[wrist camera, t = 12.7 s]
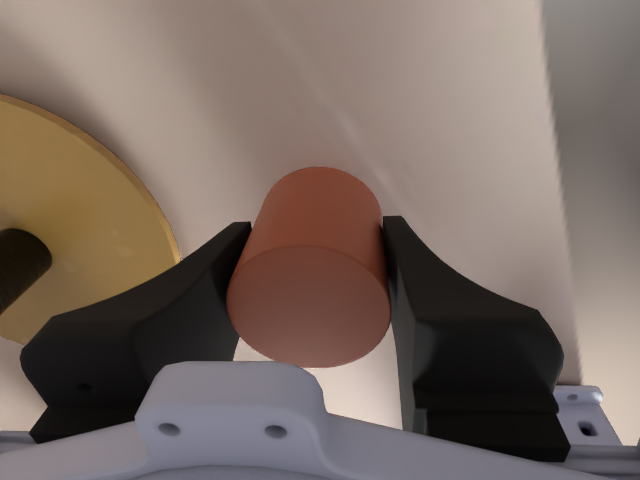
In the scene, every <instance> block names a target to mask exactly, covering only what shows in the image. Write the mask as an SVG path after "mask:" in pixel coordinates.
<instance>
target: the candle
mask: <svg viewBox="0 0 640 480" xmlns="http://www.w3.org/2000/svg"><path fill="white" fill-rule="evenodd" d="M226 307H227V312H228V316H229V318H230V321H231V323H232V325H233V327H234V329H235V330H236V332H237V333H238V334H239V336H240V337H241V338H242V339H243V340H244V341H245V342H246V343H247V344H248V345H249V346H251V347H252V348H253V349H254V350H256V351H257V352H259V353H260V354H262V355H264V356H266V357H268V358H270V359H272V360H275V361H277V362H283V363H288V364H294V365H297V366H299V367H301V368H314V369H317V368H330V367H336V366H341V365H345V364H348V363H350V362H353V361H355V360H357V359H360V358H361V357H363V356H365V355H366V354H368V353H369V352H370V351H372V350H373V349H374V348H375V347H376V346H377V345H378V344H379V343H380V342H381V340H382V339H383V337H384V336H385V334H386V332H387V330H388V328H389V325H390V321H391V314H392V308H391V298H390V288H389V279H388V270H387V260H386V253H385V247H384V237H383V223H382V214H381V210H380V206H379V204H378V201H377V199H376V198H375V196H374V194H373V193H372V192H371V190H370V189H369V188H368V187H367V186H366V185H365V184H364V183H363V182H361V181H360V180H359V179H357V178H356V177H354V176H352V175H351V174H349V173H346V172H344V171H341V170H338V169H334V168H327V167H311V168H305V169H301V170H297V171H295V172H292V173H290V174H288V175H287V176H285V177H283V178H282V179H281V180H279V181H278V182H277V183H276V184H275V185H274V186H273V187H272V188H271V190H270V191H269V192H268V194H267V196H266V198H265V200H264V203H263V205H262V207H261V210H260V212H259V214H258V217H257V219H256V221H255V224H254V226H253V228H252V231H251V233H250V235H249V238H248V240H247V242H246V245H245V247H244V249H243V252H242V254H241V256H240V259H239V261H238V263H237V266H236V268H235V270H234V273H233V275H232V277H231V280H230V282H229V285H228V288H227V294H226Z"/></svg>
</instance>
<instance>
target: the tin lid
mask: <svg viewBox="0 0 640 480" xmlns="http://www.w3.org/2000/svg"><path fill="white" fill-rule="evenodd" d="M179 262H180V255H179V251H178V248H177V244H176V240H175V238H174V235H173V233H172V230H171V228H170V226H169V223H168V221H167V219H166V218H165V216H164V214H163V212H162V211H161V209H160V207H159V205H158V204H157V202H156V201H155V200H154V198H153V197H152V195H151V194H150V193H149V191H148V190H147V189H146V187H145V186H144V185H143V184H142V182H141V181H140V180H139V179H138V178H137V177H136V176H135V175H134V174H133V172H132V171H131V170H130V169H129V168H128V167H127V166H126V165H125V164H124V163H123V162H122V161H120V160H119V159H118V158H117V157H116V156H115V155H114V154H113V153H112V152H111V151H110V150H108V149H107V148H106V147H104V146H103V145H102V144H100V143H99V142H98V141H97V140H95V139H94V138H93V137H91V136H90V135H89V134H87V133H86V132H84V131H82V130H81V129H79V128H78V127H76V126H74V125H73V124H71V123H69V122H68V121H66V120H65V119H63V118H61V117H59V116H57V115H55V114H53V113H51V112H49V111H47V110H45V109H42V108H40V107H38V106H35V105H33V104H30V103H27V102H25V101H22V100H19V99H17V98H14V97H10V96H6V95H2V94H0V336H1V337H3V338H6V339H9V340H11V341H14V342H17V343H19V344H22V345H27V344H28V342H29V341H30V340H31V339H32V338H33V337H34V336H35V335H36V334H37V332H38V331H39V330H40V329H41V328H42V327H43V326H44V325H45V324H46V322H47V321H48V320H49V319H50V318H51V317H52V316H55V315H58V314H62V313H65V312H68V311H72V310H75V309H78V308H82V307H85V306H88V305H91V304H94V303H97V302H99V301H102V300H105V299H108V298H110V297H113V296H115V295H118V294H120V293H123V292H125V291H127V290H129V289H131V288H133V287H135V286H138V285H140V284H142V283H144V282H146V281H148V280H150V279H152V278H154V277H156V276H157V275H159V274H161V273H163V272H164V271H166V270H168V269H170V268H171V267H173V266H174V265H176V264H177V263H179Z"/></svg>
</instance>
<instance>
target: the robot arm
mask: <svg viewBox="0 0 640 480" xmlns="http://www.w3.org/2000/svg"><path fill="white" fill-rule="evenodd" d="M251 231H252V227H251V222H234V223H232V224H230V225H229V226H227V227H226V228H225V229H223V230H222V231H221V232H220V233H218V234H217V235H216V236H214V237H213V238H212V239H211V240H209V241H208V242H207V243H205V244H204V245H203V246H201V247H200V248H199V249H198V250H196V251H195V252H193V253H192V254H190V255H189V256H188V257H186V258H185V259H183V260H182V261H180V262H179V263H177V264H176V265H174V266H173V267H171V268H170V269H168V270H166V271H164V272H163V273H161V274H159V275H157V276H156V277H154V278H152V279H150V280H148V281H146V282H144V283H142V284H140V285H138V286H135V287H133V288H131V289H129V290H127V291H125V292H123V293H120V294H118V295H115V296H113V297H110V298H108V299H105V300H102V301H99V302H97V303H94V304H91V305H88V306H85V307H82V308H78V309H75V310H72V311H68V312H65V313H62V314H58V315H55V316H52V317H51V318H50V319H49V320H48V321H47V322H46V324H45V325H44V326H43V327H42V328H41V329H40V330H39V331H38V332H37V334H36V335H35V336H34V337H33V338H32V339H31V340H30V341H29V342H28V344H27V345H26V346H25V347H24V348H23V349H22V351H21V355H20V362H21V367H22V370H23V372H24V373H25V375H26V377H27V378H28V380H29V381H30V382H31V384H32V385H33V386H34V388H35V389H36V390H37V392H38V393H39V395H40V396H41V397H42V399H43V400H44V401H45V403H46V404H47V405H48V407H47V409H46V410H45V411H44V413H43V414H42V416H41V417H40V418H39V420H38V421H37V422H36V424H35V425H34V426H33V428H32V429H31V431H0V480H640V439H639V442H638V444H637V446H623V445H622V443H621V441H620V440H619V438H618V436H617V434H616V433H615V431H614V429H613V427H612V426H611V424H610V422H609V421H608V419H607V417H606V416H605V414H604V412H603V410H602V409H601V407H600V405H599V404H600V402H601V400H602V398H603V394H602V392H601V390H600V389H599V388H598V387H596V386H560V385H556V383H557V381H558V378H559V375H560V372H561V369H562V366H563V360H564V354H563V350H562V347H561V344H560V343H559V341H558V339H557V337H556V336H555V334H554V332H553V331H552V329H551V328H550V326H549V324H548V323H547V322H546V320H545V319H544V318H543V317H542V315H541V314H540V312H539V311H538V310H537V309H534V308H531V307H528V306H526V305H523V304H520V303H518V302H515V301H512V300H509V299H507V298H505V297H502V296H500V295H498V294H496V293H494V292H491V291H489V290H487V289H485V288H483V287H481V286H480V285H478V284H476V283H474V282H473V281H471V280H469V279H468V278H466V277H464V276H463V275H461V274H460V273H458V272H457V271H455V270H454V269H453V268H451V267H450V266H448V265H447V264H446V263H444V262H443V261H442V260H441V259H440V258H439V257H438V256H436V255H435V254H434V253H433V252H432V251H431V250H430V249H429V248H428V247H427V246H426V245H425V244H424V243H423V242H422V240H421V239H420V238H419V237H418V236H417V235H416V234H415V232H414V231H413V230H412V229H411V227H410V226H409V225H408V223H407V222H406V221H405V219H404V218H403V217H402V216H383V237H384V247H385V253H386V260H387V270H388V279H389V288H390V298H391V308H392V314H391V324H392V329H393V334H394V339H395V346H396V353H397V365H398V376H399V388H400V400H401V413H402V426H403V430H400V429H395V428H391V427H387V426H382V425H378V424H374V423H370V422H365V421H361V420H357V419H352V418H348V417H344V416H339V415H335V414H331V413H328V412H327V411H326V408H325V405H324V399H323V391H322V389H321V387H320V385H319V383H318V381H317V380H316V378H315V376H313V375H312V374H310V373H309V372H307V371H305V370H304V369H302V368H300V367H299V366H297V365H294V364H288V363H283V362H277V361H233V358H234V354H235V350H236V347H237V343H238V340H239V337H240V336H239V334H238V333H237V332H236V330H235V329H234V327H233V325H232V323H231V321H230V318H229V316H228V312H227V307H226V294H227V288H228V285H229V282H230V280H231V277H232V275H233V273H234V270H235V268H236V266H237V263H238V261H239V259H240V256H241V254H242V252H243V249H244V247H245V245H246V242H247V240H248V238H249V235H250V233H251Z"/></svg>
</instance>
